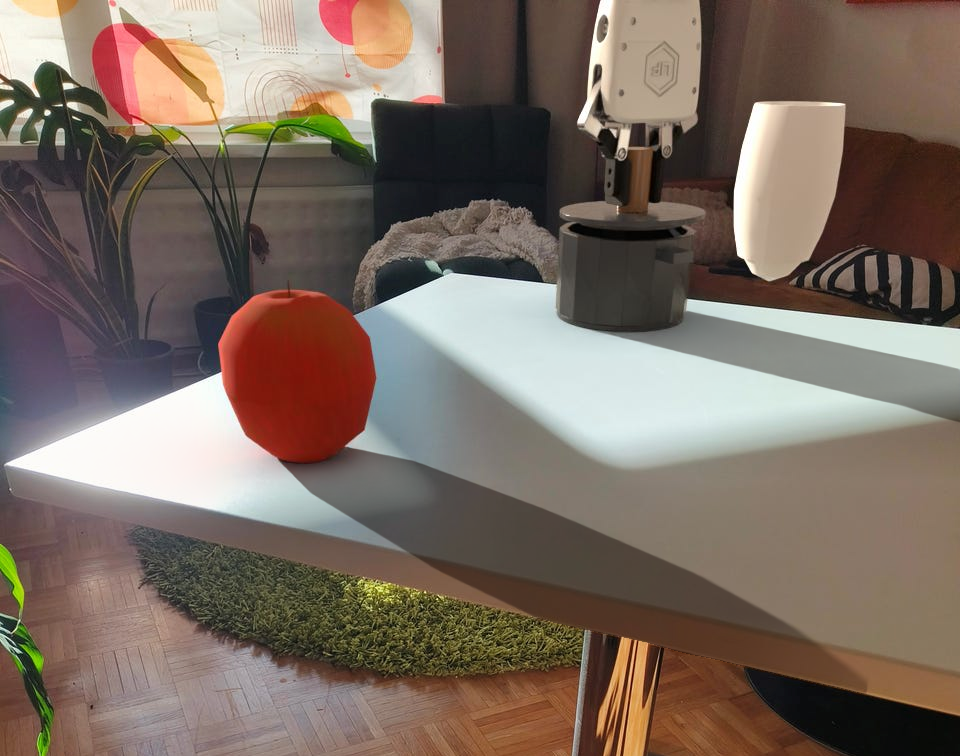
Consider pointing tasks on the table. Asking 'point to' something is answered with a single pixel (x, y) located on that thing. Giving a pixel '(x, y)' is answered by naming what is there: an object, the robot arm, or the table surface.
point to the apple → (298, 373)
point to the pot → (623, 277)
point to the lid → (634, 204)
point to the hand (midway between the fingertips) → (632, 201)
